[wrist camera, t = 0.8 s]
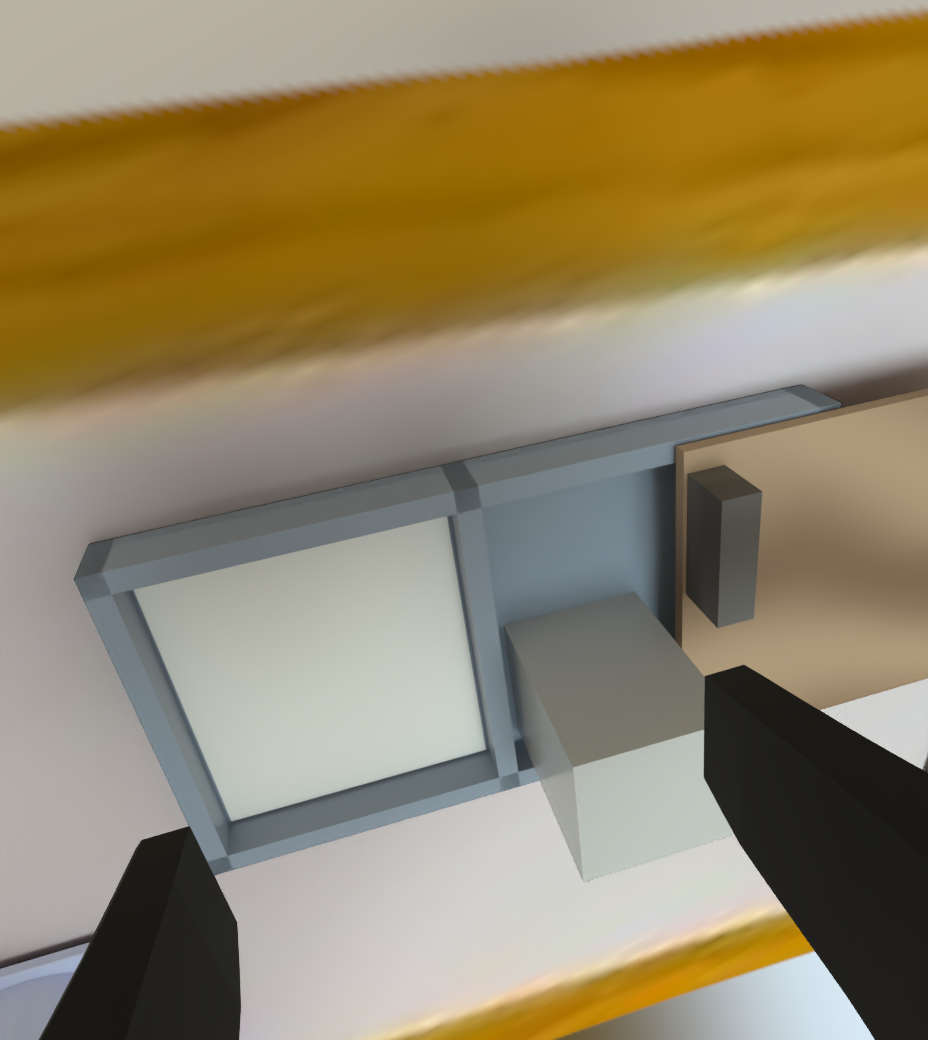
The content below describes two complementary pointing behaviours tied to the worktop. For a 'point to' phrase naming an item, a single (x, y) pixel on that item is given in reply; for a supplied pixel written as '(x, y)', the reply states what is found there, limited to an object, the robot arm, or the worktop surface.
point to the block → (614, 733)
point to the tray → (382, 625)
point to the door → (809, 550)
